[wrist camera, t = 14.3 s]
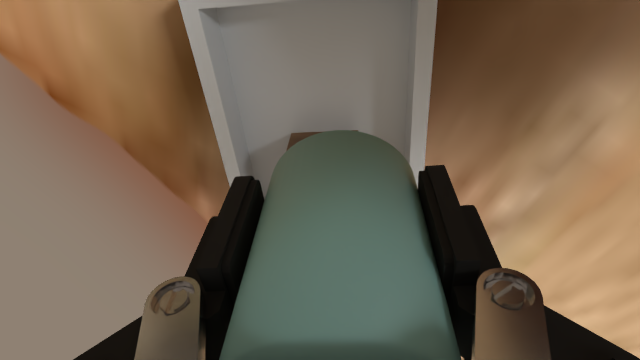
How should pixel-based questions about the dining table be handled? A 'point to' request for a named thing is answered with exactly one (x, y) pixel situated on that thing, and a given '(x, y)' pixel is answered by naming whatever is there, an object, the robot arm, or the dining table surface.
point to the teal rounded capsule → (341, 261)
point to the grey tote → (312, 74)
